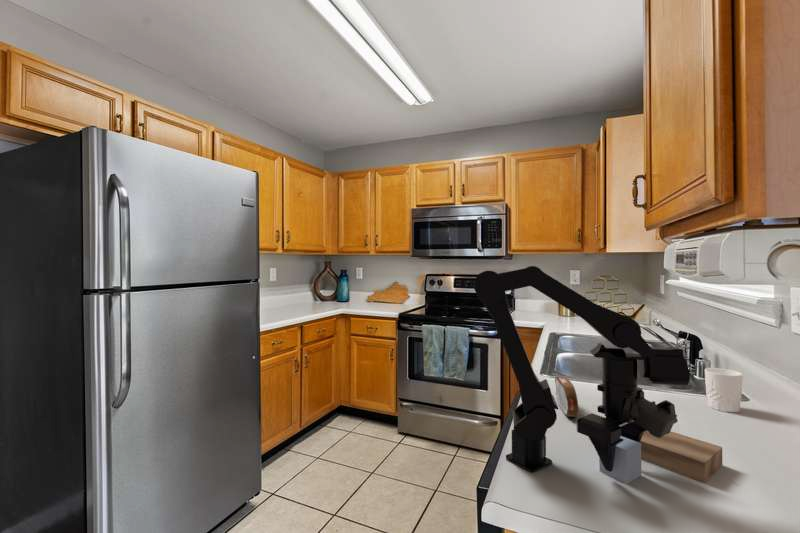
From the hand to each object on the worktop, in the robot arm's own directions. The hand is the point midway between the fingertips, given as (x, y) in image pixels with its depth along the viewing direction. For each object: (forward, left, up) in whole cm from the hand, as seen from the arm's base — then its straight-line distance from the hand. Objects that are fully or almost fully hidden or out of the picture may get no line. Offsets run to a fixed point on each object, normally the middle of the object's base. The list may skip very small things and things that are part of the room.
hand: (620, 464), depth 70 cm
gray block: (0, 0, -2) cm, 2 cm away
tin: (+19, +24, -2) cm, 31 cm away
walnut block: (+14, 0, -2) cm, 14 cm away
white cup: (+57, +2, -2) cm, 57 cm away
